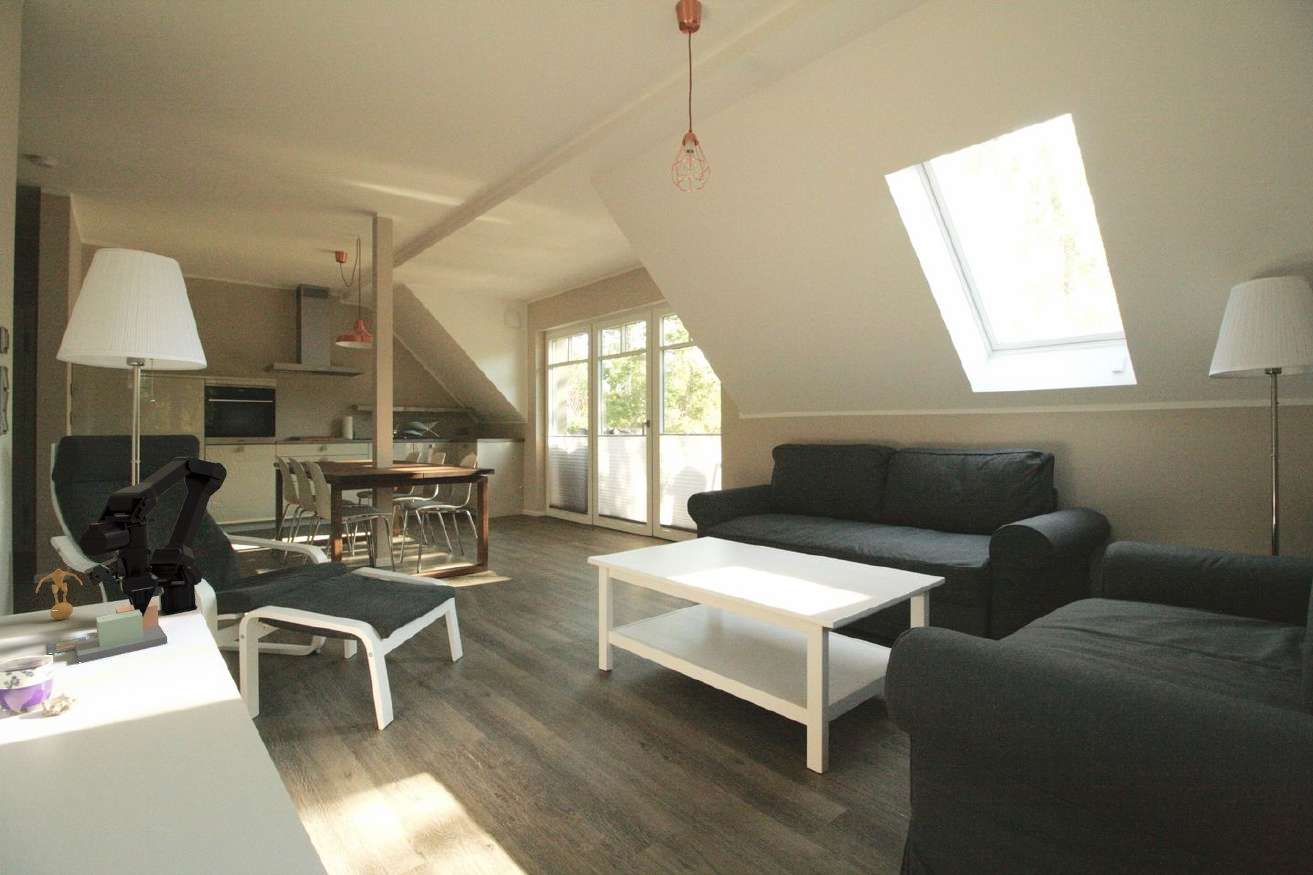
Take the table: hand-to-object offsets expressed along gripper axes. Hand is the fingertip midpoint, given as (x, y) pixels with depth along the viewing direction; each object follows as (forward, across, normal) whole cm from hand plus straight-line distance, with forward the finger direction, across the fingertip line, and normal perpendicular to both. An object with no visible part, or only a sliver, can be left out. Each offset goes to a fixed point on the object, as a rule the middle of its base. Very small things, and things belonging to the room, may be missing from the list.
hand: (137, 613), depth 146 cm
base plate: (+3, +13, -4) cm, 14 cm away
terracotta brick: (+3, 0, 0) cm, 3 cm away
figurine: (+4, -23, -12) cm, 26 cm away
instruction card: (+3, +4, -12) cm, 13 cm away
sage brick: (+2, +13, -4) cm, 14 cm away
